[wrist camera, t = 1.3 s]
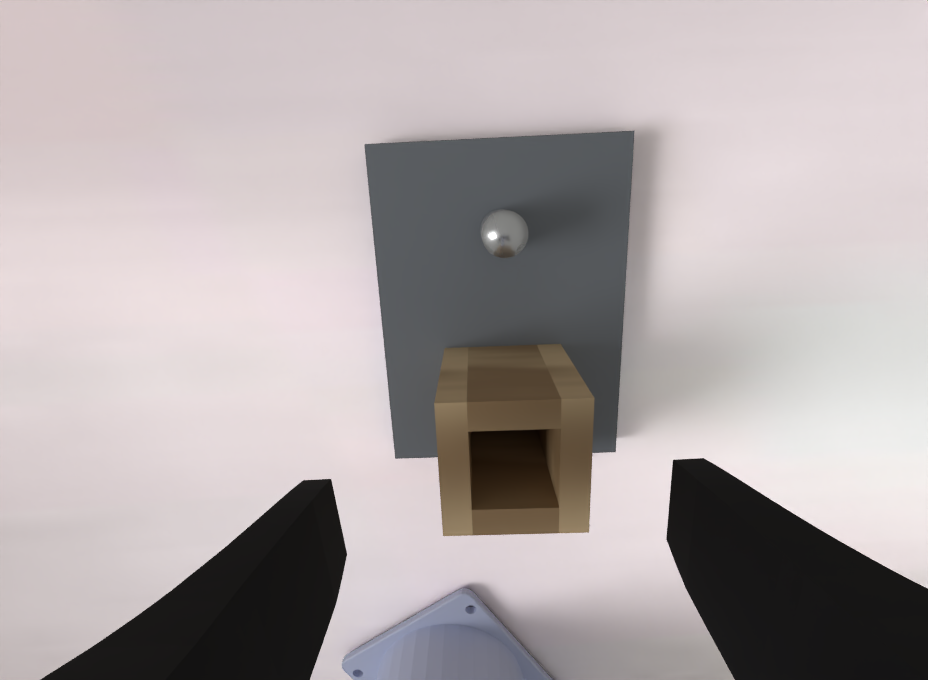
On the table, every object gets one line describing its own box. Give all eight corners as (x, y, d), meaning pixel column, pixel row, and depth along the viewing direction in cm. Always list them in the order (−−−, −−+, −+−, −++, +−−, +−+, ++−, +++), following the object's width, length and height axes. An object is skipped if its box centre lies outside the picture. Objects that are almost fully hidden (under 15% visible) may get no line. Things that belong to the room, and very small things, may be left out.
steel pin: (527, 233, 16) (537, 239, 14) (495, 257, 16) (499, 267, 14) (504, 200, 16) (510, 200, 13) (472, 225, 16) (472, 229, 14)
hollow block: (558, 447, 19) (588, 532, 14) (450, 450, 19) (442, 535, 14) (560, 343, 17) (594, 398, 12) (444, 348, 17) (433, 403, 13)
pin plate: (608, 439, 20) (615, 452, 19) (398, 446, 20) (395, 458, 19) (624, 135, 16) (634, 131, 15) (370, 147, 16) (364, 144, 15)
